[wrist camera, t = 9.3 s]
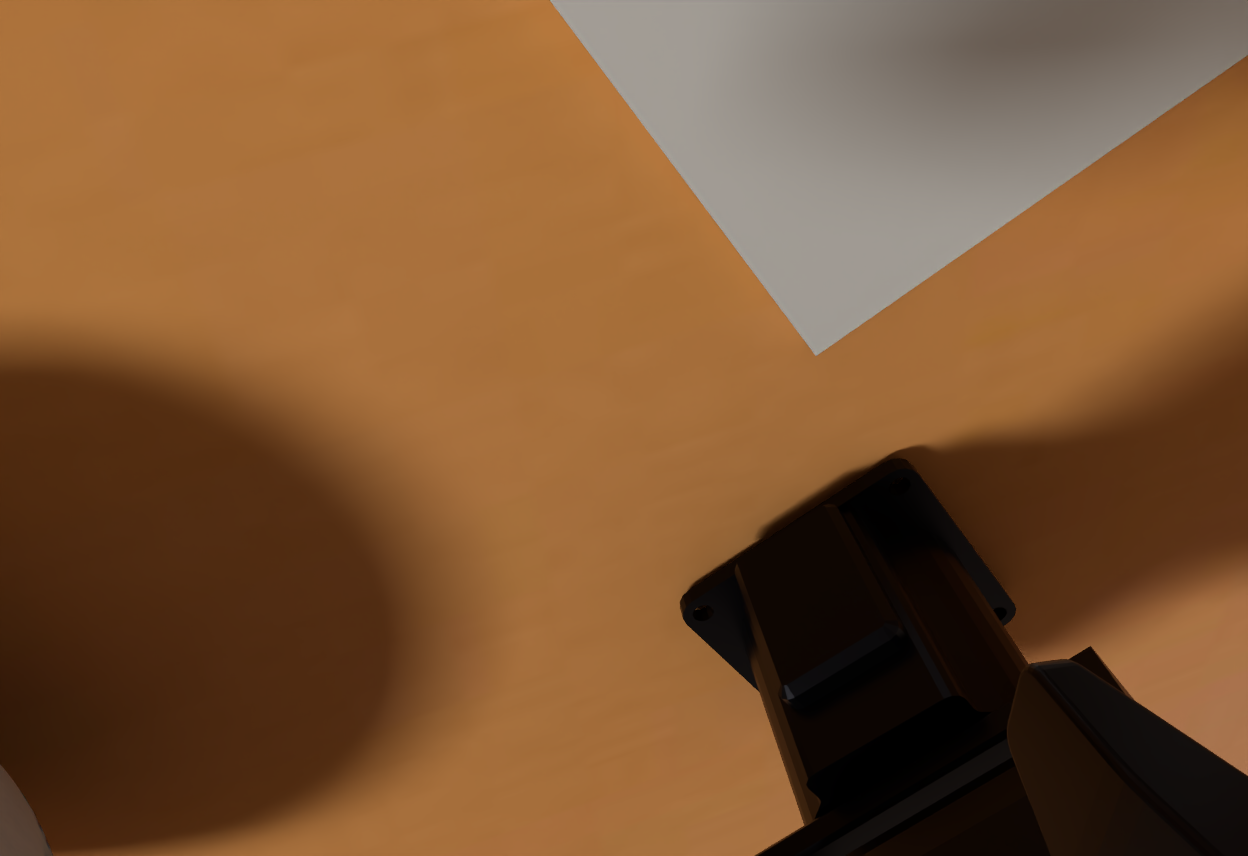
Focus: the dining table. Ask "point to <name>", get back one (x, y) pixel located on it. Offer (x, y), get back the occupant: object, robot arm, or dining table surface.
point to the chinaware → (19, 823)
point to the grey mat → (891, 120)
